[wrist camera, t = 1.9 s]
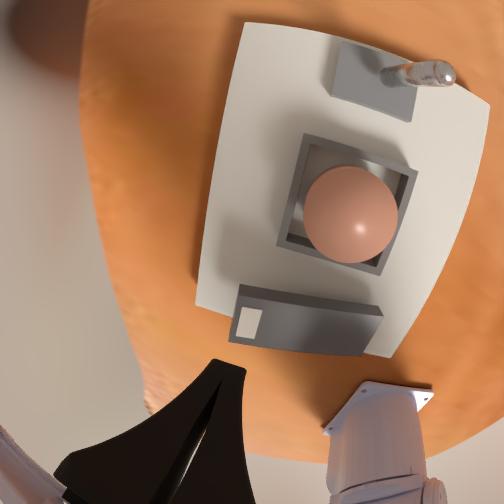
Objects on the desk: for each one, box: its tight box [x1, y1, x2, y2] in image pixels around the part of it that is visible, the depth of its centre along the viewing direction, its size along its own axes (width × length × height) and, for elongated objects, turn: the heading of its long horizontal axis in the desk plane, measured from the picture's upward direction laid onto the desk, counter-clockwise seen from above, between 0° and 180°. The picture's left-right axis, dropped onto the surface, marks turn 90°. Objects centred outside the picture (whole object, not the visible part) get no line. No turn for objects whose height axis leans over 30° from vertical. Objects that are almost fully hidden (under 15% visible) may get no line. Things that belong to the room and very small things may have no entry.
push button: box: [303, 165, 398, 263], centre depth 11 cm, size 4×4×2 cm
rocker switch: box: [228, 284, 384, 357], centre depth 14 cm, size 3×8×1 cm, turn 79°
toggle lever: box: [379, 59, 456, 88], centre depth 7 cm, size 1×1×4 cm
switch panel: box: [195, 22, 490, 358], centre depth 13 cm, size 18×14×3 cm
